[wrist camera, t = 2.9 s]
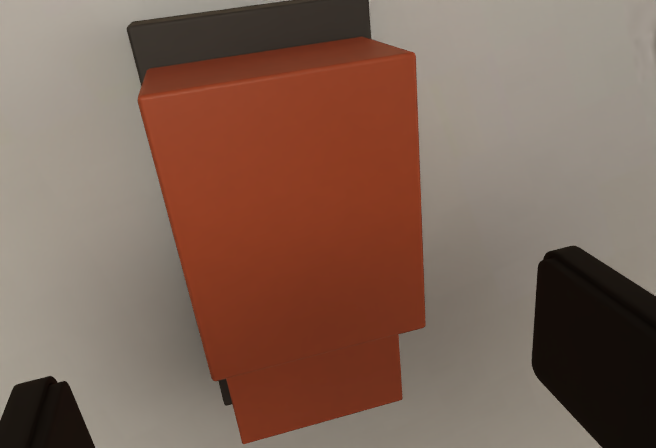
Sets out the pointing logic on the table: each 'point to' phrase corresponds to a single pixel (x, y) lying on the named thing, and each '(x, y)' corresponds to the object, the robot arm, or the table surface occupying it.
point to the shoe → (289, 201)
